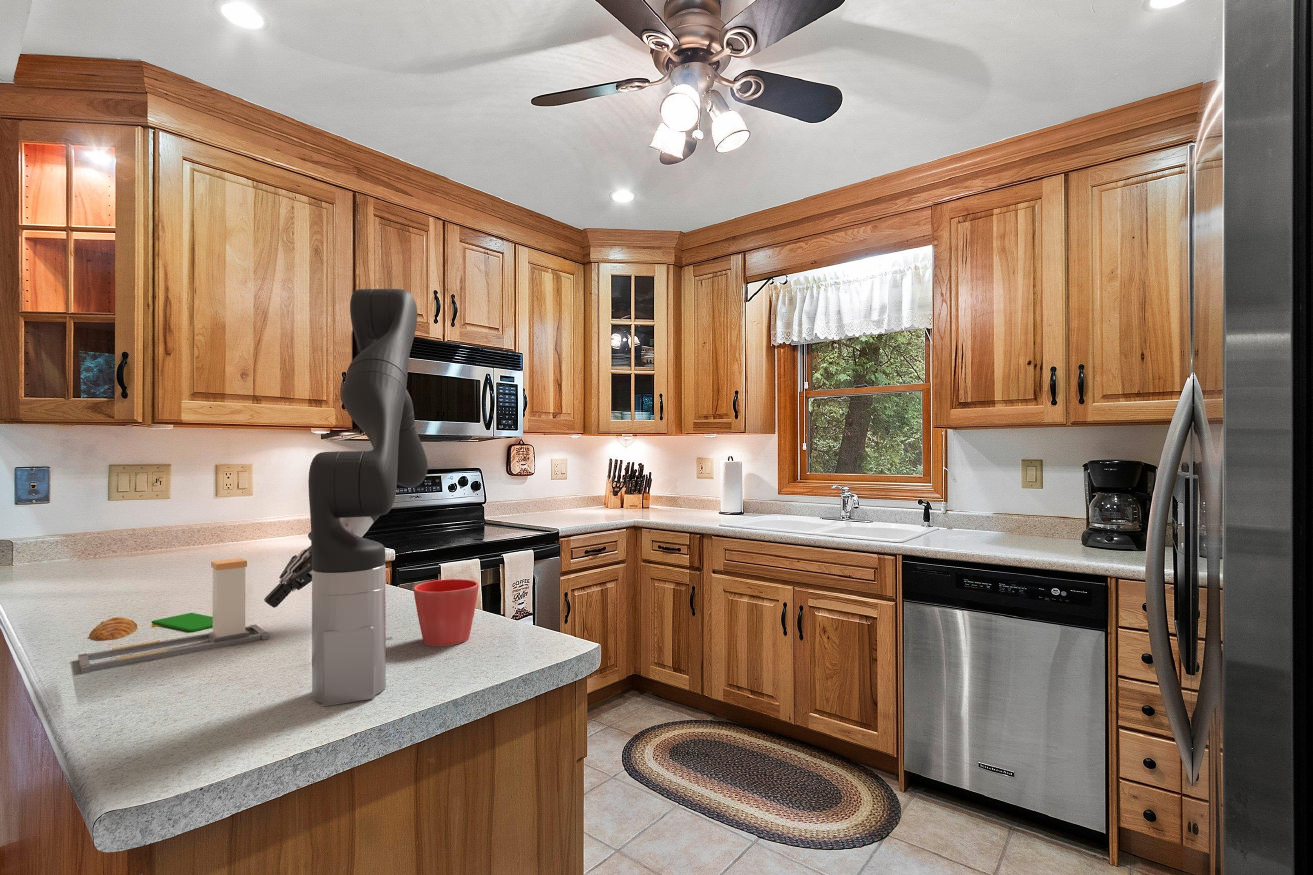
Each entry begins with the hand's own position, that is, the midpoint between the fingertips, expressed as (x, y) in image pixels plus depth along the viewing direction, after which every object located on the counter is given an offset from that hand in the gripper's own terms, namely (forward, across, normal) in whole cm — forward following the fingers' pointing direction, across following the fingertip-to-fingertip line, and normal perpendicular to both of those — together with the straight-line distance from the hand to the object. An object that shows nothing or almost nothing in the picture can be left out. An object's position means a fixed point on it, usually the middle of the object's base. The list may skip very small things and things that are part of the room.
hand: (269, 604), depth 114 cm
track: (+14, 0, -5) cm, 14 cm away
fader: (+8, 0, -1) cm, 8 cm away
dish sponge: (+11, -18, -1) cm, 21 cm away
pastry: (+19, -20, -9) cm, 29 cm away
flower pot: (-11, +23, +20) cm, 33 cm away
